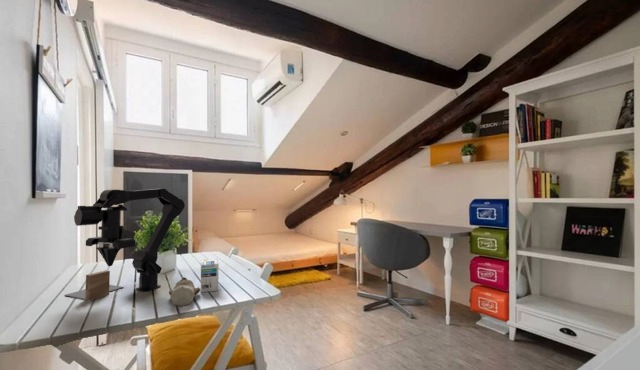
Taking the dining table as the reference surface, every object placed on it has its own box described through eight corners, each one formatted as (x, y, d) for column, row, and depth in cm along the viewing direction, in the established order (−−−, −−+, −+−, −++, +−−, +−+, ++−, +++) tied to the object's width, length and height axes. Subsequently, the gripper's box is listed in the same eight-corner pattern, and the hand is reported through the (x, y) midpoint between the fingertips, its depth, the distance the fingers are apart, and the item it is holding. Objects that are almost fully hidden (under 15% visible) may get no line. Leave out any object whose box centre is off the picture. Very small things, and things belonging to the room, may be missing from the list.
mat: (123, 287, 119) (123, 286, 119) (84, 299, 105) (84, 298, 105) (104, 284, 123) (104, 283, 123) (64, 296, 109) (64, 294, 109)
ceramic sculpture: (164, 283, 96) (170, 274, 110) (163, 310, 95) (169, 298, 109) (199, 280, 100) (201, 272, 114) (198, 306, 99) (200, 295, 113)
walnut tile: (109, 294, 111) (109, 270, 111) (89, 300, 104) (90, 275, 105) (105, 293, 112) (105, 270, 112) (85, 299, 105) (86, 274, 106)
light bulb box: (218, 290, 115) (218, 263, 116) (200, 293, 113) (200, 265, 113) (217, 283, 125) (217, 258, 125) (200, 285, 123) (201, 259, 123)
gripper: (149, 222, 111) (148, 263, 111) (115, 220, 118) (114, 259, 117) (120, 225, 101) (119, 270, 100) (85, 223, 107) (84, 265, 107)
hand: (110, 265), depth 106 cm, fingers closed
